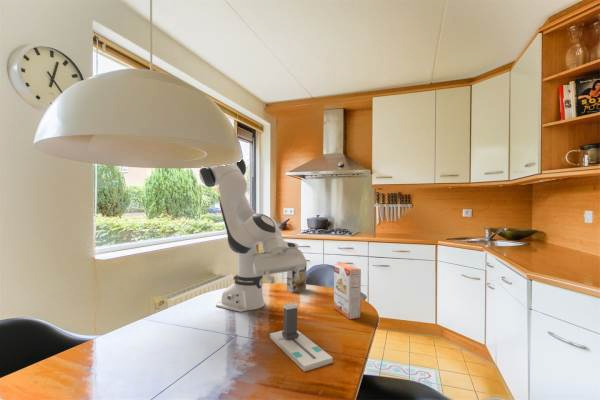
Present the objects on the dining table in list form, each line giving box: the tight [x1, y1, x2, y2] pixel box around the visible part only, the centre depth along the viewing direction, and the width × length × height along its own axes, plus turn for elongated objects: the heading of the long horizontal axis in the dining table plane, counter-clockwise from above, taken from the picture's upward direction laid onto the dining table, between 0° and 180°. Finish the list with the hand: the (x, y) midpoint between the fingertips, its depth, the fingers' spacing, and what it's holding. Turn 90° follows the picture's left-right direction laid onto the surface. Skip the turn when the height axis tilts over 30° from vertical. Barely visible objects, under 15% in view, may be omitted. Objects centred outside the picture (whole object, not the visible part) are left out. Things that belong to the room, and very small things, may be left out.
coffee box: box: [286, 263, 307, 293], centre depth 161 cm, size 9×6×16 cm
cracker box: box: [333, 262, 362, 320], centre depth 128 cm, size 14×6×21 cm, turn 21°
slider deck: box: [269, 329, 334, 372], centre depth 95 cm, size 24×10×2 cm, turn 30°
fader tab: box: [282, 301, 299, 340], centre depth 101 cm, size 4×4×11 cm
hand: (285, 280), depth 104 cm, fingers open, 8 cm apart
